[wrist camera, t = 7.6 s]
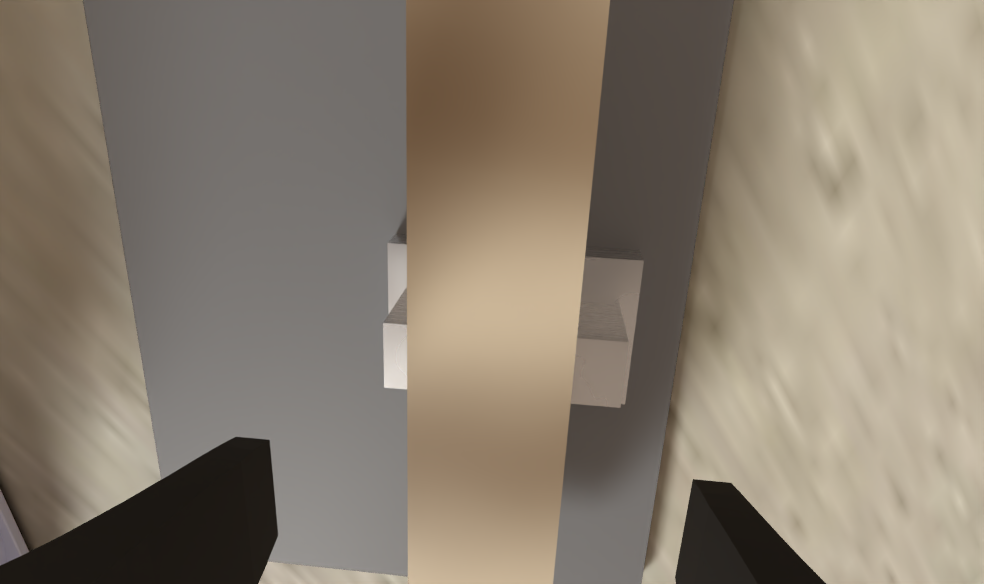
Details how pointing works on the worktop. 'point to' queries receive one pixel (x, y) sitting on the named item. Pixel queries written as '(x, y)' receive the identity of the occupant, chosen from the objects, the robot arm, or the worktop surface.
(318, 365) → the charcoal board
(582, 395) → the steel ridge
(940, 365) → the worktop surface
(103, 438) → the worktop surface
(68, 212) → the worktop surface
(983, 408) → the worktop surface
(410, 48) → the maple batten
